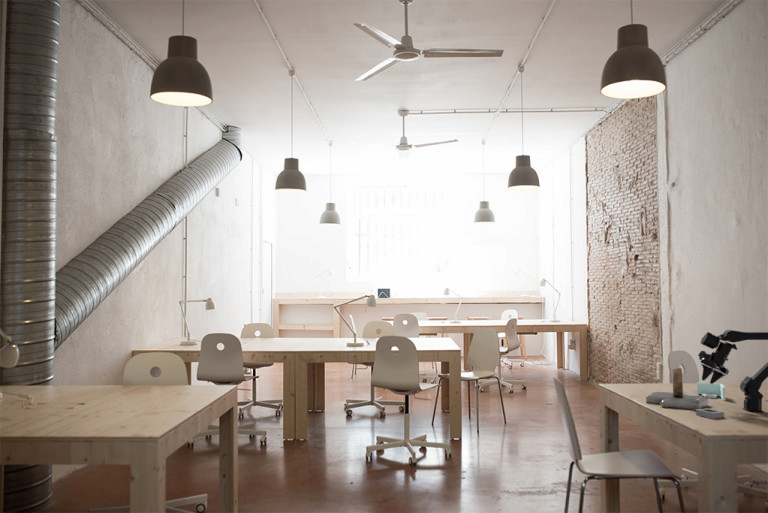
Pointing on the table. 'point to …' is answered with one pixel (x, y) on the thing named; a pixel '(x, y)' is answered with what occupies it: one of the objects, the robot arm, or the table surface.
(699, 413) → the socket block
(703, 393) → the l-shaped corner panel
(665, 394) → the emblem
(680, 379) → the walnut dowel
